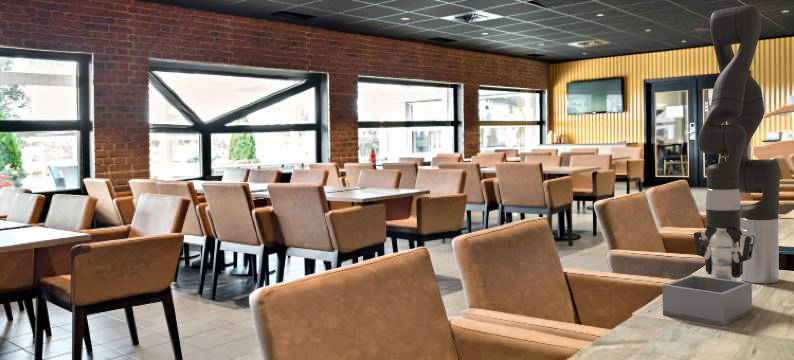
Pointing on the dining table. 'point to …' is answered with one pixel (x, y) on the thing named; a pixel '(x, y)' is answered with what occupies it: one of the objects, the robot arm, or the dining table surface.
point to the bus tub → (707, 299)
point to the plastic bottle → (722, 255)
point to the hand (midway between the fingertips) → (723, 275)
